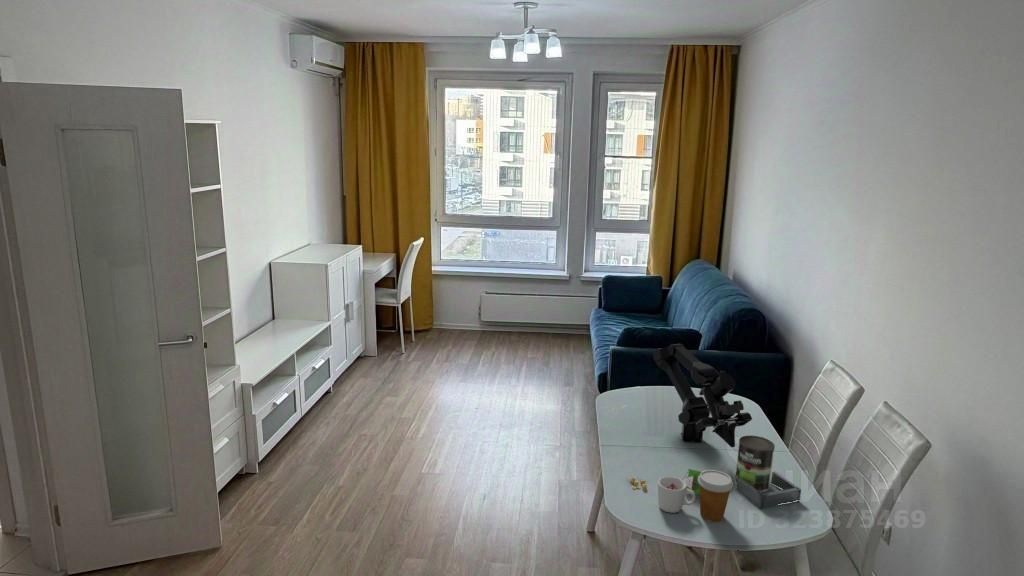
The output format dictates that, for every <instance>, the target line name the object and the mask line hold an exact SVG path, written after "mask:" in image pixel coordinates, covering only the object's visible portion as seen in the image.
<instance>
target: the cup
mask: <svg viewBox="0 0 1024 576" xmlns="http://www.w3.org/2000/svg"><path fill="white" fill-rule="evenodd" d="M658 479H659V480H657V494H658V495H657V497H658V498H657V501H658V506H659V508H660V509H661V510H662V511H664V512H667V513H671V514H675V513H678V512H680V511H681V510H682V508H683V506H692V505H694V504H695V501H696V495H697V494H695V493H694V491H692V490H690V489H687V488H686V487H687V486H686V484H685V482H684V481H683V479H682V478H681V479H680V478H678V477H675V476H663V477H660V478H658ZM689 494H690V495H691V496H692V499H691V500H690V501H688V499H687V498H686V496H687V495H689Z"/></svg>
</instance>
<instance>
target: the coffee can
mask: <svg viewBox="0 0 1024 576" xmlns="http://www.w3.org/2000/svg"><path fill="white" fill-rule="evenodd" d="M738 442H739V445H738V450H737V451H738V452H737V459H736V460H737V461H736V468H735V478H734V483H735V485H736V486H737V478H742V479H743V480H744V481H746V482H747V483H748V484H750V485H751V486H752V487H754V488H755V489H756V490H758V491H759V492H760V493H766V492H767V491H768V490H770V484H771V476H772V467H773V462H774V461H773V459H774V453H775V447H776V444H775V443H774V442H773V441H772V440H769V439H768V438H765V437H763V436H758V435H744V436H741V437H740V438H739V439H738Z"/></svg>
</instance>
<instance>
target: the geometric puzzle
mask: <svg viewBox="0 0 1024 576" xmlns="http://www.w3.org/2000/svg"><path fill="white" fill-rule="evenodd" d="M701 472H702V471H698V470H695V469H690V468H689V469H688V470H687V472H686V473H687V476H685V477H683V478H682V480H683V481H684V482H685V484H686V488H687V489H690V490H692V491H694V493H695V495H699V496H700V493H699V492H700V491H699V483H698V476H700V473H701Z"/></svg>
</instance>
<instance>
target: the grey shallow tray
mask: <svg viewBox="0 0 1024 576" xmlns="http://www.w3.org/2000/svg"><path fill="white" fill-rule="evenodd" d="M771 483H772V484H774V485H776V486H778V487H780V488H782V489H783V490H777V491H771V492H764V493H763V492H761V493H760V492H759V491H758V490H756V489H755V488H754V487H752V486H751V485H750V484H748V483H747V482H746V481H744V480H743V479H742V478H737V485H736V489H735V490H736V491H737V492H739V493H740V494H741V495H743V497H745V499H747V500H749V501H750V502H751V503H752V504H753V505H755V506H756V507H758V509H759V510H762V509H763V510H764V509H767V508H773V507H772V506H774V507H777V506H776V505H778V504H781V503H787V502H793V501H796V500H800V501H801V493H802V488H800V487H798V486H797V485H795V484H794V483H792V482H791V481H789V479H787V478H785V477H784V476H782V474H781V475H780V473H778V472H776V471H771V478H770V484H771ZM772 484H771V485H772ZM774 485H773V486H774Z"/></svg>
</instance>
